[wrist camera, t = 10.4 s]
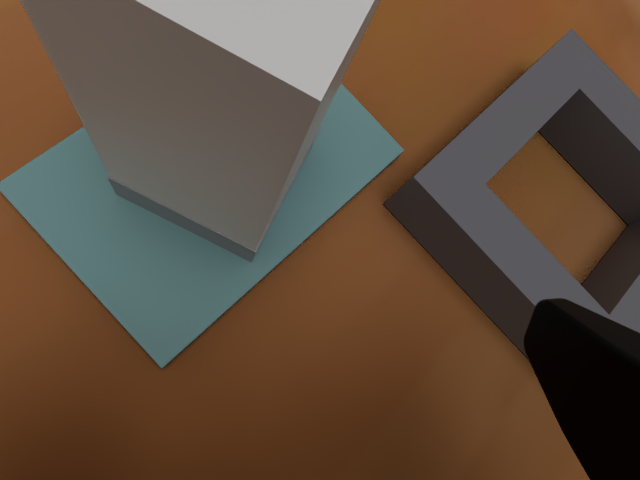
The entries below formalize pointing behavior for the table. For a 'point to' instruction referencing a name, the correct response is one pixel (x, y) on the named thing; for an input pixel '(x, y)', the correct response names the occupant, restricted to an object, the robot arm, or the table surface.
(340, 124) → the mat
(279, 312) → the table surface
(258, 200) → the white tall block
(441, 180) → the power strip
